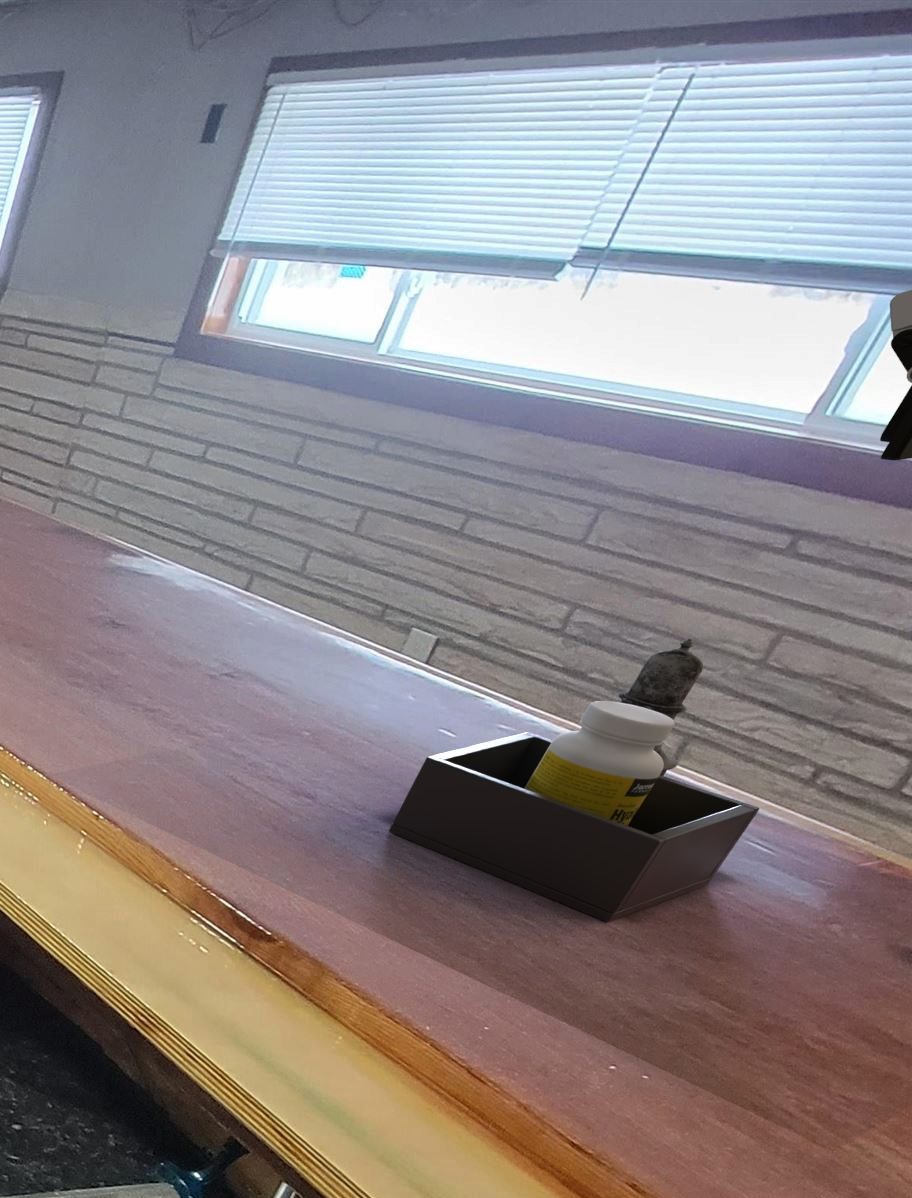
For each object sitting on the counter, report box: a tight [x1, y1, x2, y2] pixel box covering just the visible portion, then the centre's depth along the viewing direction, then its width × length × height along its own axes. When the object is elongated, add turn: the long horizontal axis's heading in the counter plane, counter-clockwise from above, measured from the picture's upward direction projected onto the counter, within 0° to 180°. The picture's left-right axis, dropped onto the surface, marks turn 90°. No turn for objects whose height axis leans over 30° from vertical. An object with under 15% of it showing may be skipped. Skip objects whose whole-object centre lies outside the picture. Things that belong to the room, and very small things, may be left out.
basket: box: [388, 731, 760, 923], centre depth 79 cm, size 12×12×6 cm
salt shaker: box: [618, 638, 704, 777], centre depth 86 cm, size 6×6×12 cm
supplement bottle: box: [524, 700, 676, 826], centre depth 77 cm, size 5×5×10 cm
